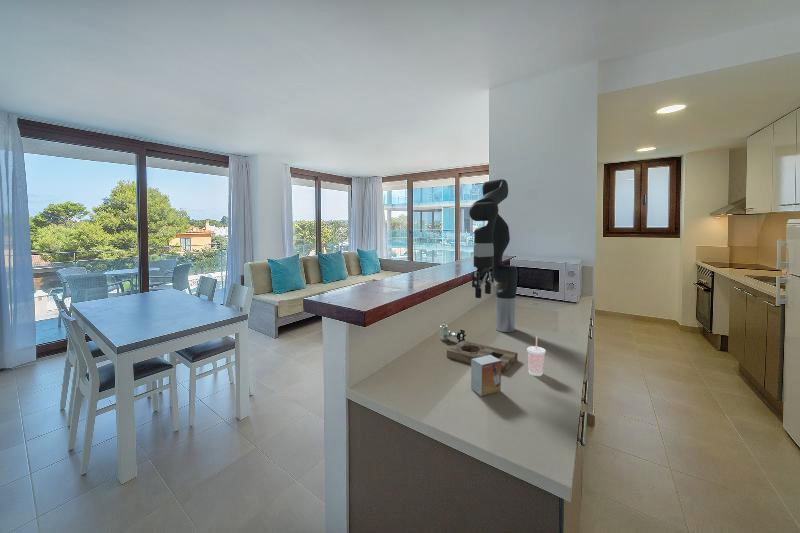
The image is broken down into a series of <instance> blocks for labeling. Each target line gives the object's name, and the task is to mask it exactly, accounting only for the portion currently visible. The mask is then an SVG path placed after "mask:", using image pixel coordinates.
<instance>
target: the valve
mask: <svg viewBox="0 0 800 533" xmlns="http://www.w3.org/2000/svg"><path fill="white" fill-rule="evenodd" d="M439 336H440V337H439V340H440V339H442V340H441V341H447V340H448V338H451V337H453V338H456V340H457V344H458V343H459V342H461V341H463V340H465V341H466V339H465V337H466V336H467V334H466V330H464V329H460V330H459V331H458V332H457V333H455V332H452V330H448V325H447V324H441V325H440V327H439Z"/></svg>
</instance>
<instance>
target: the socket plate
mask: <svg viewBox="0 0 800 533" xmlns="http://www.w3.org/2000/svg"><path fill="white" fill-rule="evenodd" d="M518 354H519V353H518V352H516V351H511V350H506V349H503V348H498V347H494V346H489V345H486V344H482V343H477V342H474V341H473V342H472V341H468V340H466V339H465V340H463V341H461V342H459V343H458V342H457V344H455V345H453V346H451V347H449V348H447V349H446V358H449V359H453V360H457V361H459V362H463V363H467V364H470V365H471V359H474V358H479V357H484V356H488V355H492V356H494V357H495V358H497V359H499V360H501V374H505V373H506V372H507V370H509V369H510V368H511V367H512V366H513V365H514V364H515V363H516V362H517V361H518V360H519V359H518V356H519V355H518Z"/></svg>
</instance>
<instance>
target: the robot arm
mask: <svg viewBox="0 0 800 533" xmlns="http://www.w3.org/2000/svg"><path fill="white" fill-rule="evenodd" d="M481 187H482V188H481V189H482V191H481V192H482V197H481V198H480V199H479V200H476V201H474V202H473V203H472V204H471V206H469V207H470V208H469V211H468V212H469V213H468V214H469V217H470V219H471V220H473V221H474V222H487V223H486V225H484V226H481V227H477V228H475V229H474V233H473V234H474V235H473V237H474V238H473V267H474V268H476V271H472V275H471V278H472V279H471V287H472V288H474V290H475V292H474V295H475V299H476V298H477V299H481V298H482V287H483V285H484V294H485V295H491V294H492V284H493V283H494V281H495V282H496V283H499V284H506V286H505V288H502V289H498V290H497V291H496V298H495V300H496V301H495V302H496V303H495V304H496V307H495V309H496V310H495V312H496V313H495V330H496V331H498V332H501V333H513V332H515V331H516V305H517V304H516V302H517V301H516V300H517V299H516V297H517V289H518V288H517V287H518V277H519V273H518V272H519V271H518V269H517V267H516V266H515V265H509V264H503V255H504V253H505V251H506V249H507V248H508V246H509V243H510V242H511V241H510V240H511V238H510V229H509V228H510V227H509V225H508V223H507V222H506V220H505V219H504V218H503V217H502V216H501V215H500V214H499V206H498V205H499V204H500V203H502V202H503V201H504V200H506V199H507V198H508V195H509V185H508V182H507V180H505V179H501V178H500V179H495V180H490V181H489V180H488V181H484V182H483V184H482V186H481Z"/></svg>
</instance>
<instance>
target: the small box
mask: <svg viewBox="0 0 800 533" xmlns="http://www.w3.org/2000/svg"><path fill="white" fill-rule="evenodd" d="M470 366H471V367H470V369H471V371H470V374H471V375H470V379H471V380H470V389H471V390H472V391H473V392H475V393H477V395H479V396H480V397H484V396H486V395H487V396H488V395H490V394H495V393H500V392H501V388H502V387H501V386H502V383H501V382H502V373H501V360H499V359H497V358H495V357H494V356H492V355H488V356H484V357H479V358H474V359H471V364H470Z"/></svg>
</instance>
